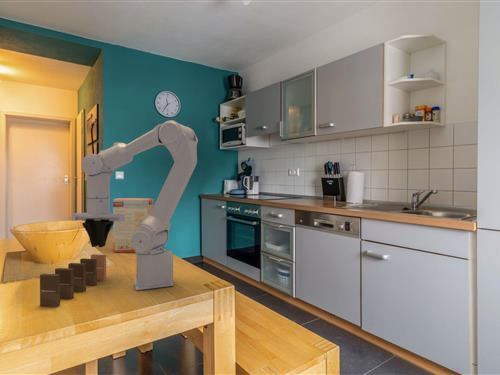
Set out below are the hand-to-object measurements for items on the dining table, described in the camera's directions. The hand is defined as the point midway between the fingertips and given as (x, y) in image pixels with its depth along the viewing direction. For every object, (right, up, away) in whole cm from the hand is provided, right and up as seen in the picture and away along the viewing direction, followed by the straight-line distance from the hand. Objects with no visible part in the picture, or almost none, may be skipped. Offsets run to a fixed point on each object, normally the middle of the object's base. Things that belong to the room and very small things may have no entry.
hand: (98, 246), depth 85 cm
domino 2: (-1, -10, -13) cm, 16 cm away
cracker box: (-3, -9, +34) cm, 36 cm away
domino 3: (-1, -10, -9) cm, 13 cm away
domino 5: (0, -9, 0) cm, 9 cm away
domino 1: (-2, -10, -18) cm, 20 cm away
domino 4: (-1, -10, -4) cm, 10 cm away
